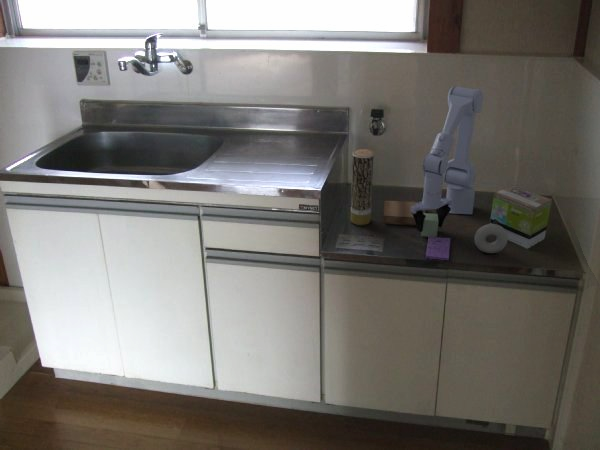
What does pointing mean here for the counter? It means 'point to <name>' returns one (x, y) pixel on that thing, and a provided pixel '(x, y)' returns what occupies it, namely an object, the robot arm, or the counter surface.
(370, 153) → the paper tube
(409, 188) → the counter surface
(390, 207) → the plinth
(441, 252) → the sponges
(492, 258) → the counter surface
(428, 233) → the block
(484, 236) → the donut
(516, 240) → the tea box
